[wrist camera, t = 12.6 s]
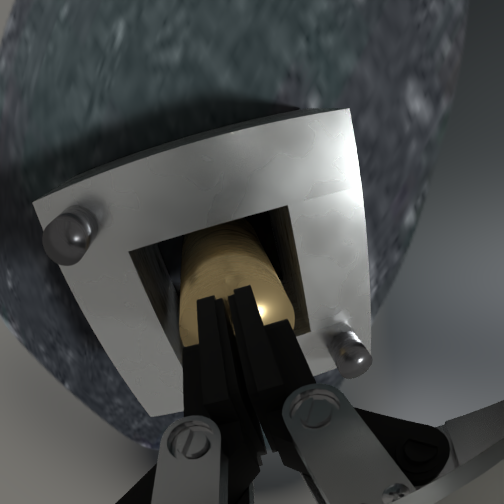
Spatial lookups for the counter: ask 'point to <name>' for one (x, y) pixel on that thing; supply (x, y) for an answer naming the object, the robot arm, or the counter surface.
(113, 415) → the counter surface
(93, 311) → the jig
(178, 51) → the counter surface
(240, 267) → the brass cylinder
